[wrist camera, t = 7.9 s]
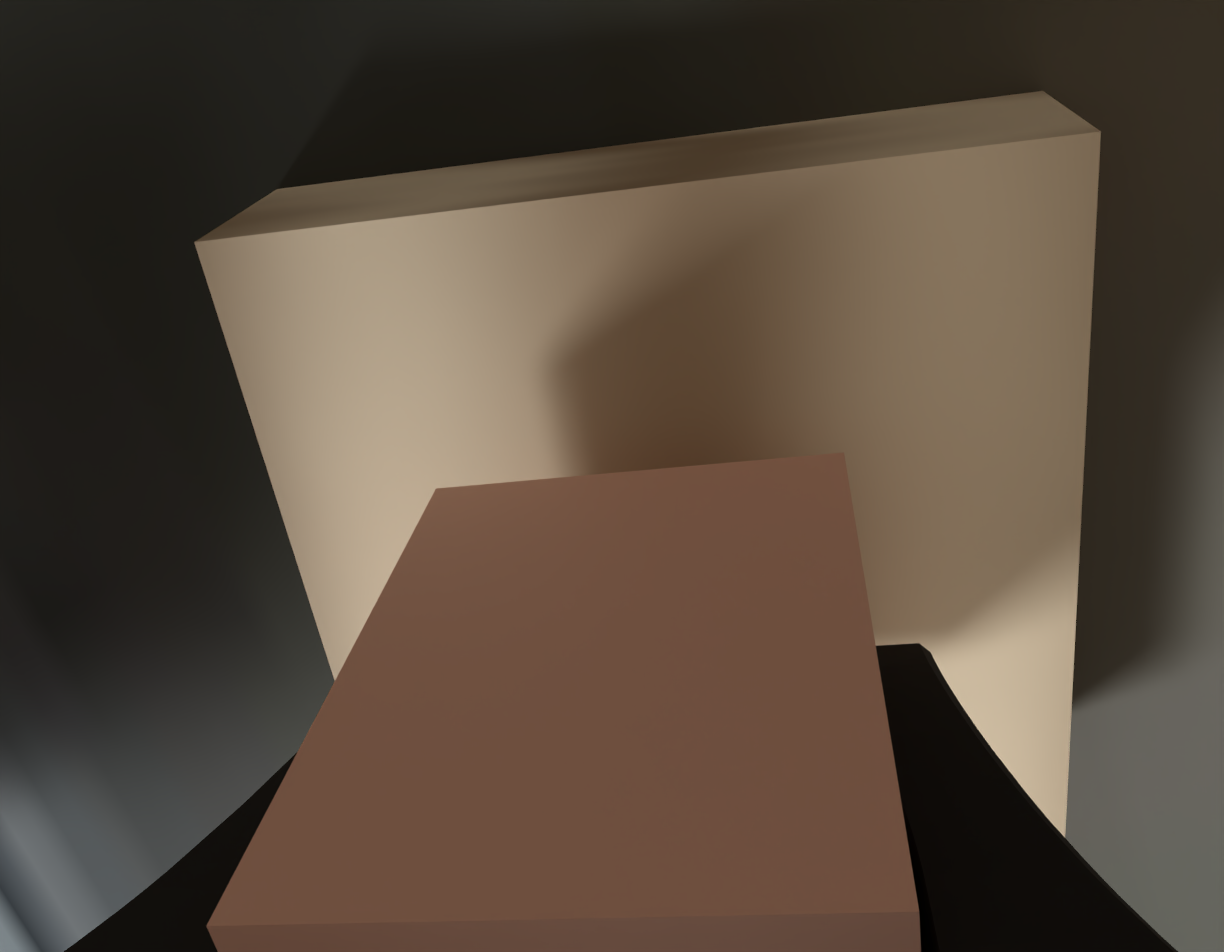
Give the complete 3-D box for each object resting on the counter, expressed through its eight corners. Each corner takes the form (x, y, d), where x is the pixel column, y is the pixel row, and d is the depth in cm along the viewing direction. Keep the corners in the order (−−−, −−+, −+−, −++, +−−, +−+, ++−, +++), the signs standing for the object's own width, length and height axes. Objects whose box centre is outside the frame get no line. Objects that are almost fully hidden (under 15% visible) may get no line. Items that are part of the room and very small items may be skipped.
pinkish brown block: (513, 791, 15) (377, 1307, 9) (436, 488, 13) (206, 927, 7) (866, 777, 14) (936, 1330, 8) (844, 452, 12) (918, 912, 6)
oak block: (440, 737, 20) (394, 865, 17) (287, 182, 16) (194, 242, 13) (1019, 712, 18) (1064, 849, 16) (1034, 85, 14) (1101, 131, 11)
